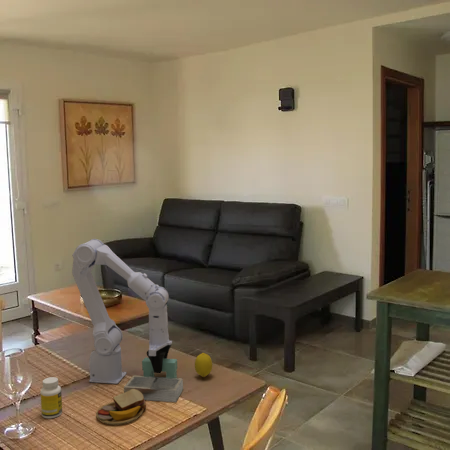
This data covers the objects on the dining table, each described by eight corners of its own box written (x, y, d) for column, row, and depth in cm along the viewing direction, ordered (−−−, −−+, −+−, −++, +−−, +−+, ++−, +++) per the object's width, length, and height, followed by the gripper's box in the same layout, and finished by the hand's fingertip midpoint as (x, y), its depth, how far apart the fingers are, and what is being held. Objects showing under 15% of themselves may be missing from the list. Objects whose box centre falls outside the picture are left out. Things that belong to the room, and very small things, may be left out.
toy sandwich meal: (92, 410, 145) (91, 394, 144) (139, 400, 151) (138, 384, 150) (101, 431, 134) (100, 414, 133) (152, 419, 139) (152, 402, 139)
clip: (142, 381, 162) (142, 361, 162) (145, 377, 165) (145, 357, 164) (175, 383, 161) (174, 363, 160) (177, 379, 164) (177, 359, 163)
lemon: (210, 381, 161) (209, 356, 160) (193, 380, 163) (192, 355, 161) (214, 374, 167) (213, 350, 166) (197, 372, 168) (196, 349, 167)
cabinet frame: (124, 398, 151) (123, 387, 150) (133, 386, 159) (133, 375, 158) (175, 402, 148) (175, 390, 148) (183, 389, 156) (182, 378, 156)
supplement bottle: (62, 417, 141) (60, 382, 139) (41, 420, 139) (38, 385, 138) (62, 408, 146) (60, 374, 145) (42, 411, 144) (39, 377, 143)
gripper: (164, 336, 153) (165, 380, 155) (177, 320, 167) (178, 361, 169) (141, 335, 154) (142, 378, 156) (156, 319, 168) (157, 359, 170)
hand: (159, 369), depth 163 cm, fingers open, 4 cm apart
